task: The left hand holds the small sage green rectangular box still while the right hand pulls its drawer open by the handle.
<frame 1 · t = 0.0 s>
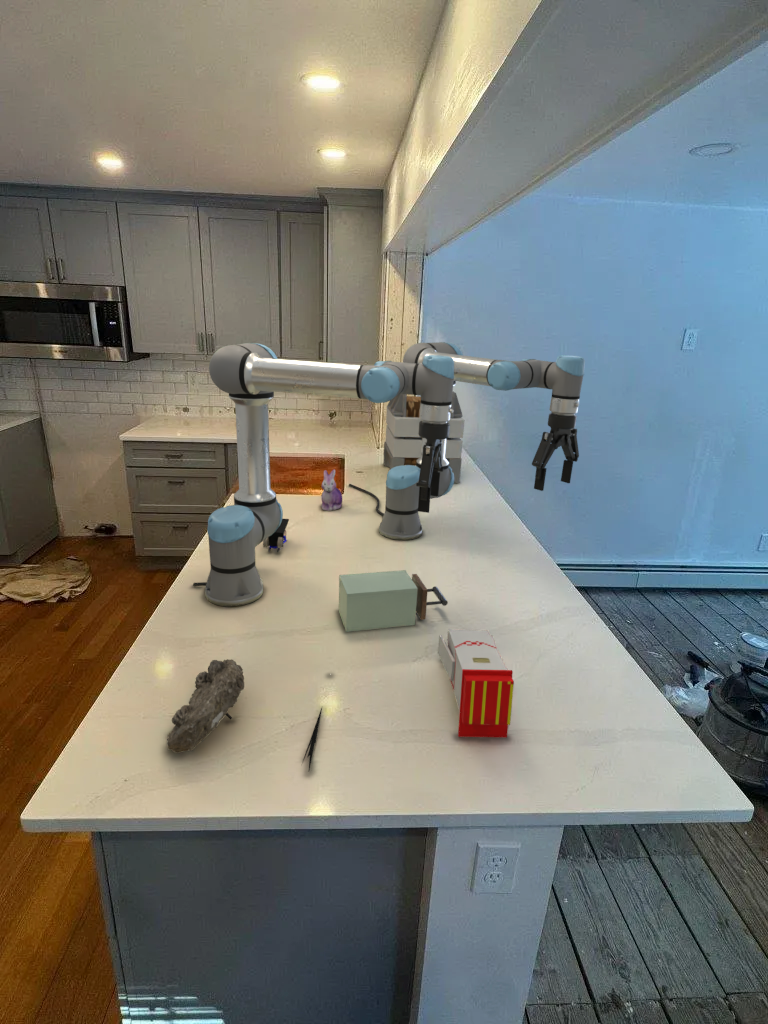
left hand: (428, 503, 146), 28 cm above the counter, tool pointing down, fingers open, 13 cm apart
right hand: (552, 485, 166), 28 cm above the counter, tool pointing down, fingers open, 13 cm apart
figurine: (331, 507, 223), on the counter
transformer: (419, 473, 275), on the counter
sage green rectangular box: (376, 617, 145), on the counter
figurine character: (276, 546, 185), on the counter
fossil: (212, 717, 108), on the counter
toy: (469, 691, 119), on the counter
feather: (319, 719, 109), on the counter
drawer: (401, 597, 145), point 5 cm above the counter, slide at 1.7 cm
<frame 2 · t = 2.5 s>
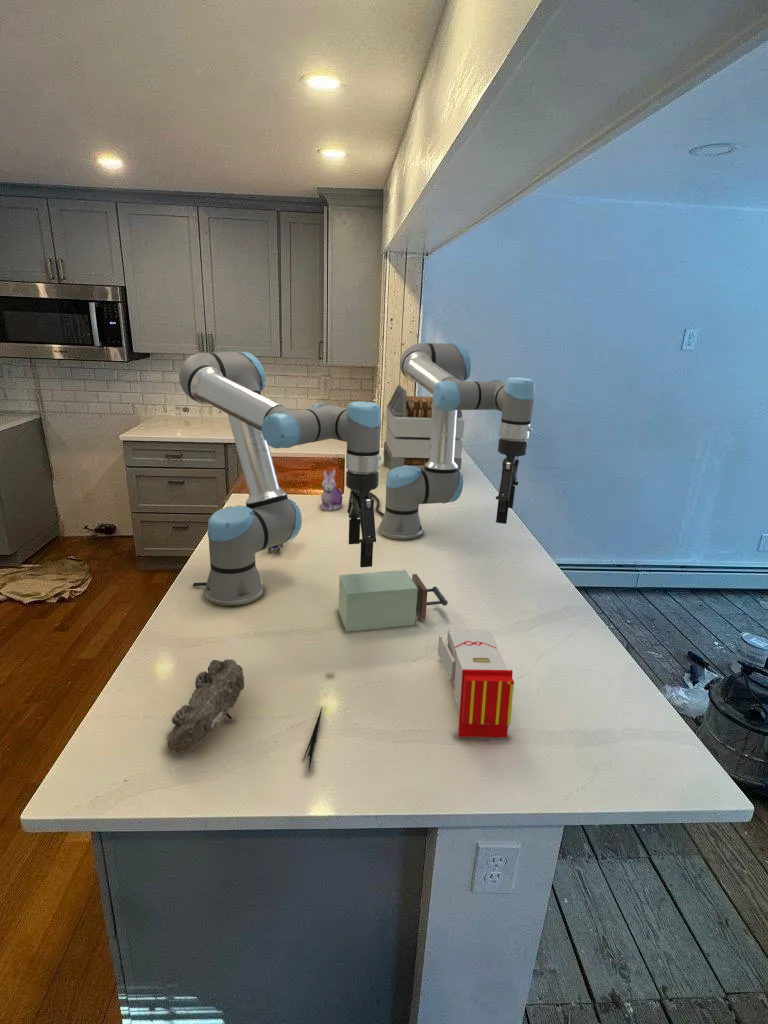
left hand: (359, 554, 138), 18 cm above the counter, tool pointing down, fingers open, 13 cm apart
right hand: (504, 514, 156), 23 cm above the counter, tool pointing down, fingers open, 13 cm apart
nothing on the counter moved.
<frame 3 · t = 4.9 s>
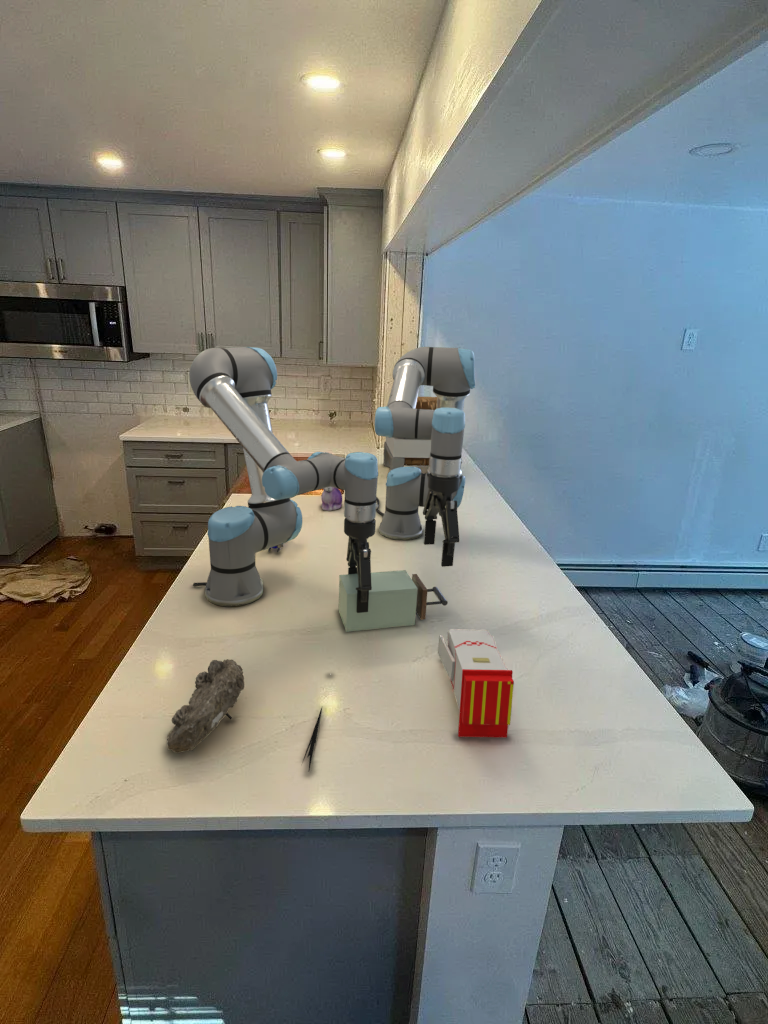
left hand: (357, 600, 142), 5 cm above the counter, tool pointing down, fingers closed on sage green rectangular box, 10 cm apart
right hand: (437, 554, 144), 17 cm above the counter, tool pointing down, fingers open, 13 cm apart
sage green rectangular box: (376, 617, 145), on the counter, touching left hand
everything else where it was.
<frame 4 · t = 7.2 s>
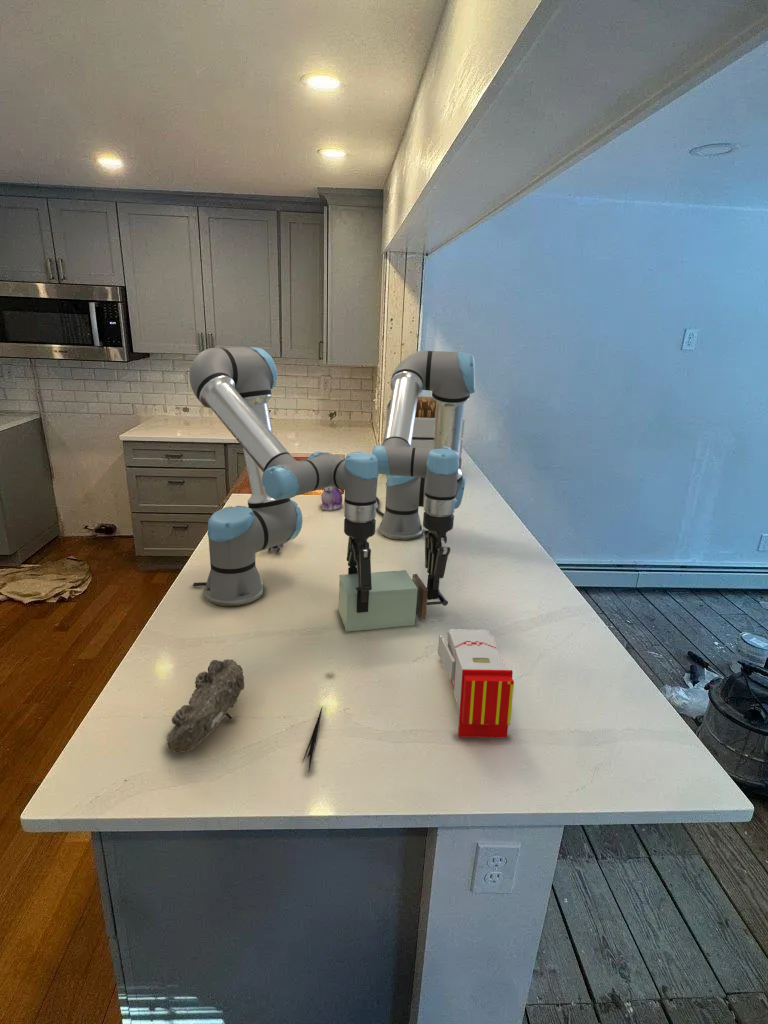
left hand: (357, 600, 142), 5 cm above the counter, tool pointing down, fingers closed on sage green rectangular box, 10 cm apart
right hand: (431, 598, 147), 4 cm above the counter, tool pointing down, fingers closed
sage green rectangular box: (376, 617, 145), on the counter, touching left hand
everything else where it was.
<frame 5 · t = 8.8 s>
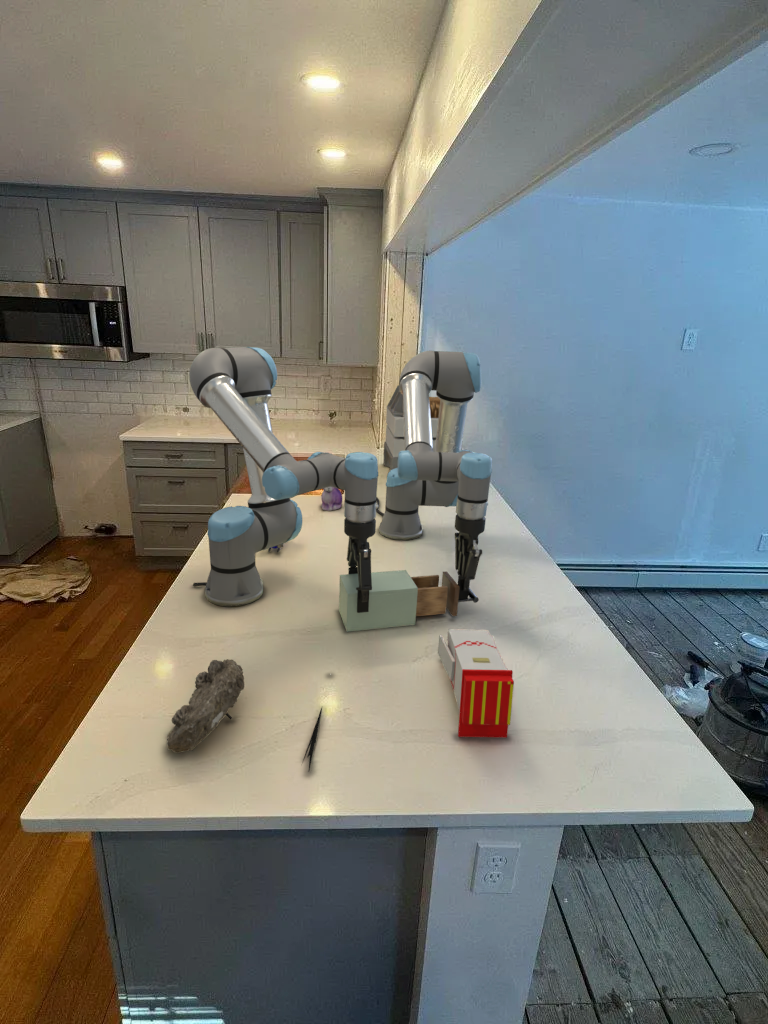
left hand: (357, 600, 142), 5 cm above the counter, tool pointing down, fingers closed on sage green rectangular box, 10 cm apart
right hand: (461, 599, 150), 3 cm above the counter, tool pointing down, fingers closed
sage green rectangular box: (376, 617, 145), on the counter, touching left hand
drawer: (433, 594, 147), point 5 cm above the counter, slide at 10.2 cm, touching right hand
everything else where it was.
when the left hand's fingers open (5 cm above the counter, at t = 10.9 s): sage green rectangular box stays where it is, on the counter.
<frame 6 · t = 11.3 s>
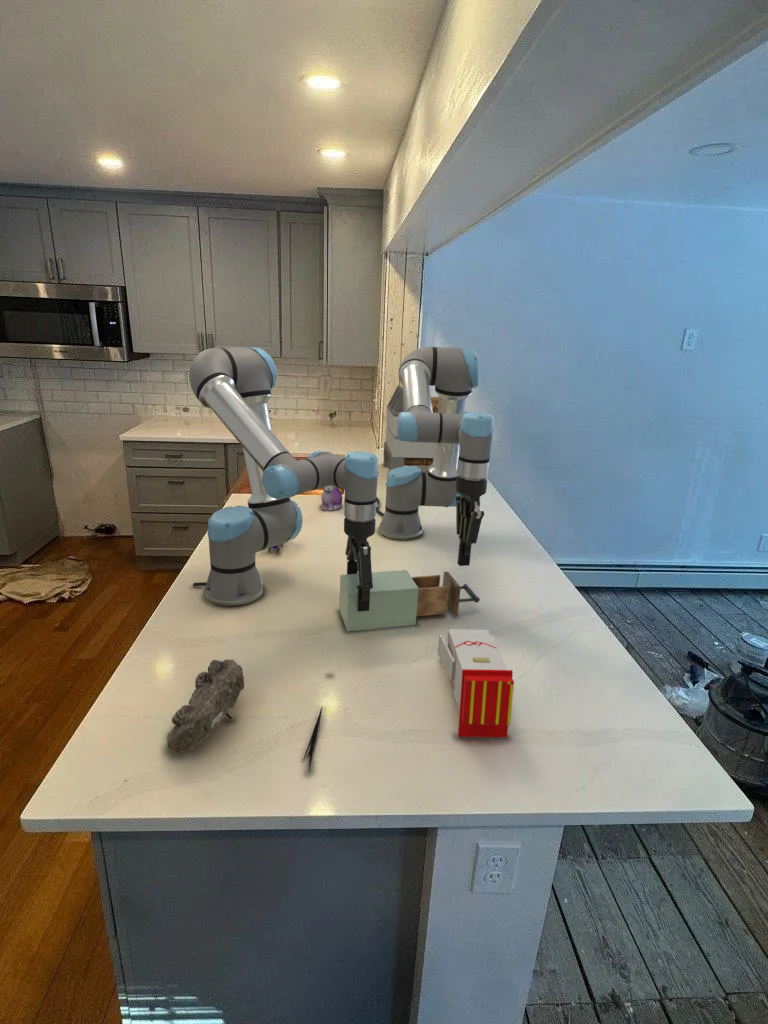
left hand: (357, 597, 142), 6 cm above the counter, tool pointing down, fingers open, 13 cm apart
right hand: (463, 564, 146), 13 cm above the counter, tool pointing down, fingers closed
sage green rectangular box: (377, 617, 145), on the counter
drawer: (434, 594, 147), point 5 cm above the counter, slide at 10.3 cm
everything else where it was.
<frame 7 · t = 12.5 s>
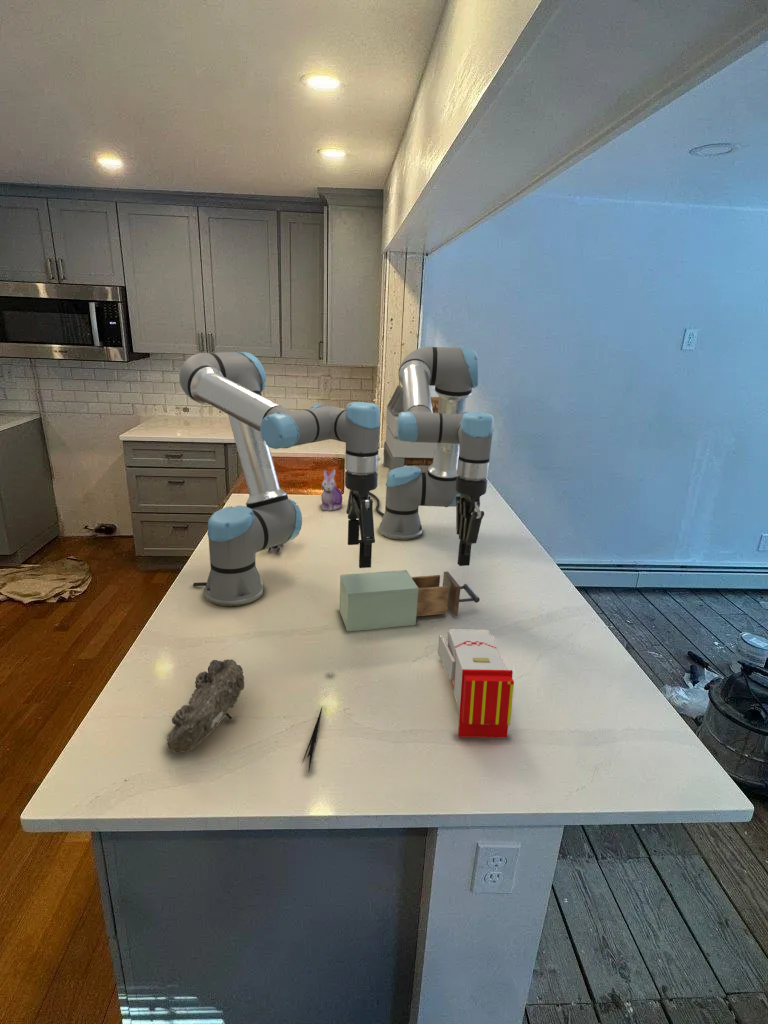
left hand: (358, 555, 138), 18 cm above the counter, tool pointing down, fingers open, 13 cm apart
right hand: (463, 564, 146), 13 cm above the counter, tool pointing down, fingers closed
nothing on the counter moved.
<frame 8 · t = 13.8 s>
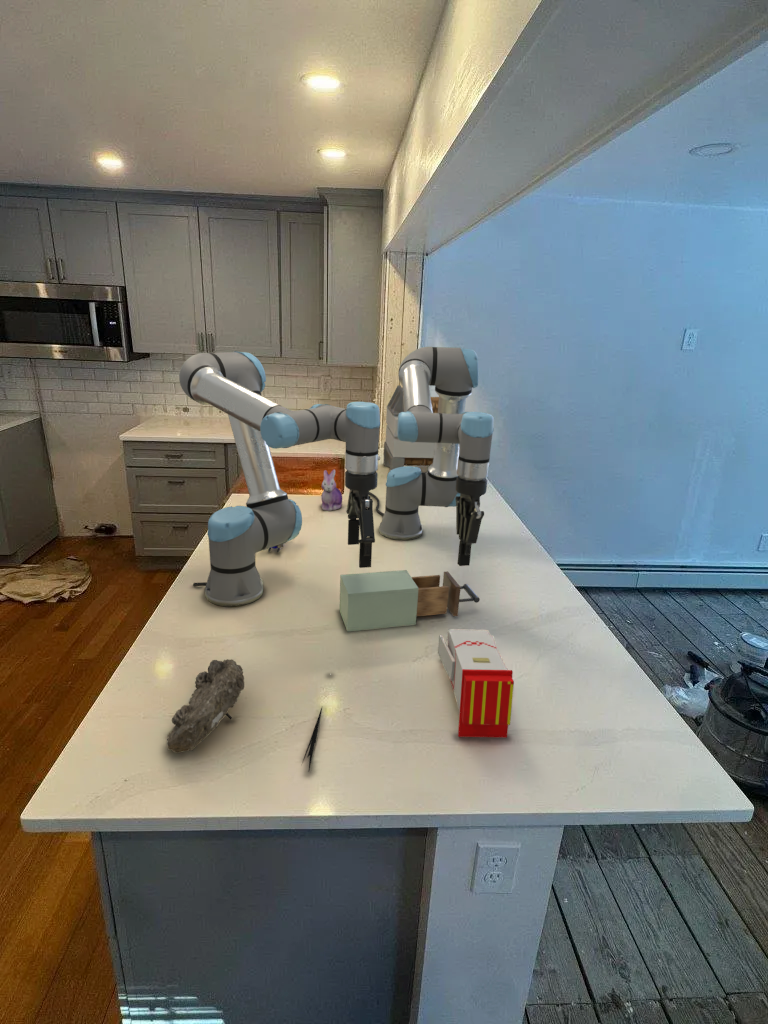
left hand: (358, 555, 138), 18 cm above the counter, tool pointing down, fingers open, 13 cm apart
right hand: (463, 564, 146), 13 cm above the counter, tool pointing down, fingers closed
nothing on the counter moved.
at the end: drawer slide at 10.3 cm; sage green rectangular box tilted 0°; sage green rectangular box never tilted more than 2° during the clip; sage green rectangular box moved 0.3 cm from its start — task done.
